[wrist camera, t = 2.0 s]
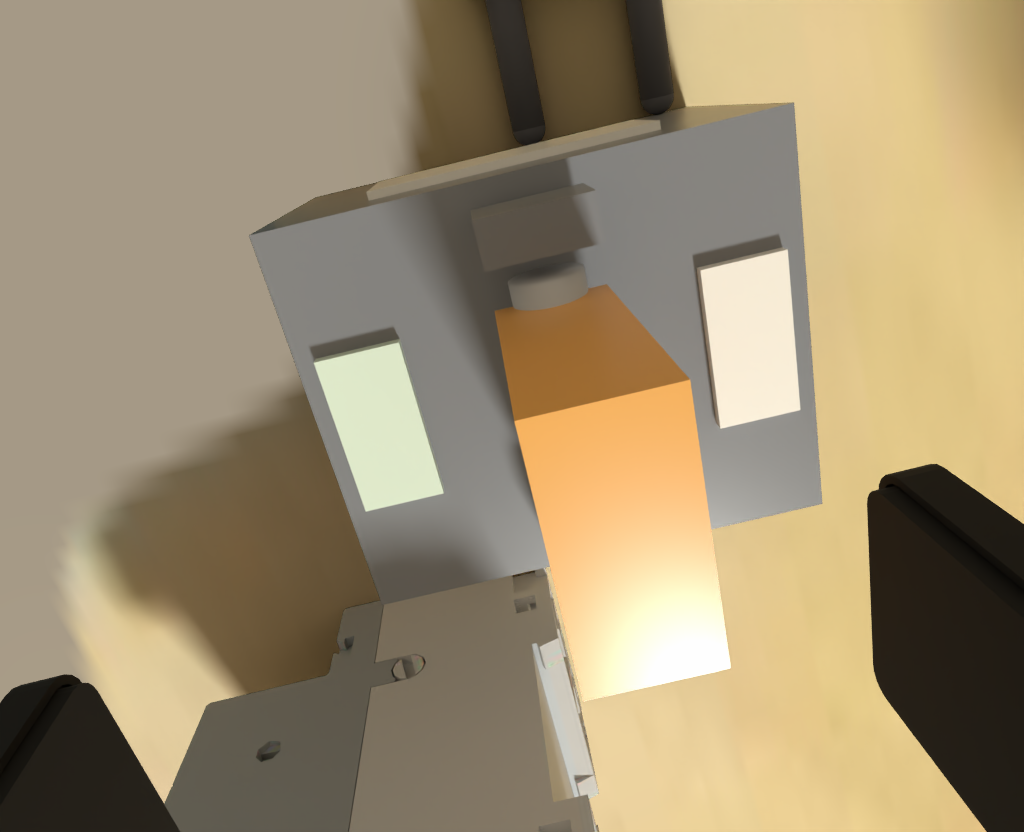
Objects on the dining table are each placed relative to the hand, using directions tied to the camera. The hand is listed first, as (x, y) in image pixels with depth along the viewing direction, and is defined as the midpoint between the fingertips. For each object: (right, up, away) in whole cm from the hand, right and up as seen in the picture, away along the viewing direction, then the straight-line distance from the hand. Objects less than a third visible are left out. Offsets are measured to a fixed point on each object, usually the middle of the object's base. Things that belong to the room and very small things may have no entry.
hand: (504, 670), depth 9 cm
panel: (+1, +7, +16) cm, 18 cm away
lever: (+1, +3, +7) cm, 8 cm away
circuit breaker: (-5, -8, +22) cm, 24 cm away
